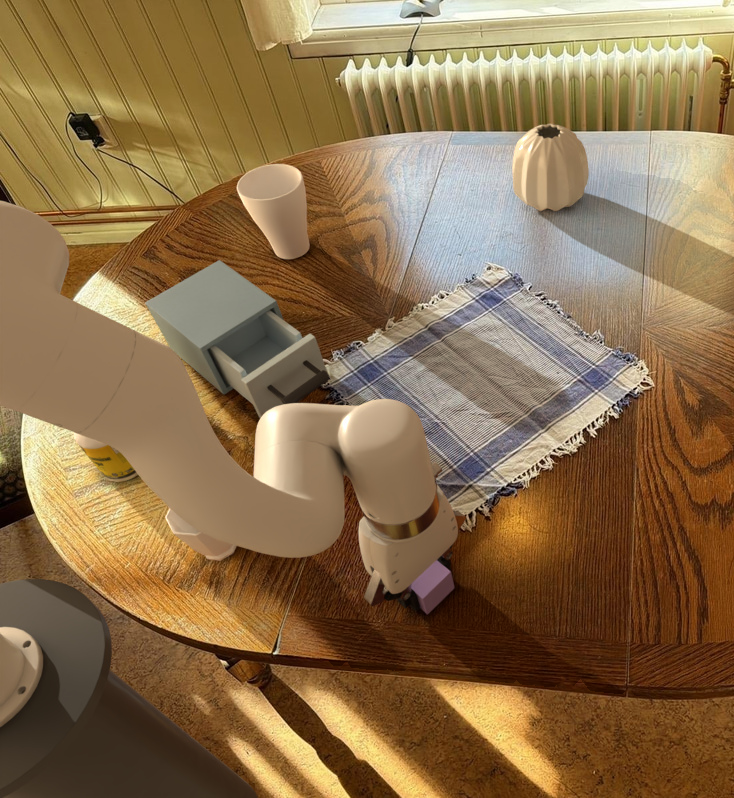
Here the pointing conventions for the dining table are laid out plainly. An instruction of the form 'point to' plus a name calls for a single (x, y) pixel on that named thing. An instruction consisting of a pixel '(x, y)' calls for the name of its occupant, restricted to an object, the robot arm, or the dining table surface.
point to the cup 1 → (198, 539)
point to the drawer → (270, 363)
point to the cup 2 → (278, 207)
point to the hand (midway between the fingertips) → (425, 586)
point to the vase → (549, 168)
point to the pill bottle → (106, 459)
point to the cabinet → (208, 315)
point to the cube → (433, 586)
